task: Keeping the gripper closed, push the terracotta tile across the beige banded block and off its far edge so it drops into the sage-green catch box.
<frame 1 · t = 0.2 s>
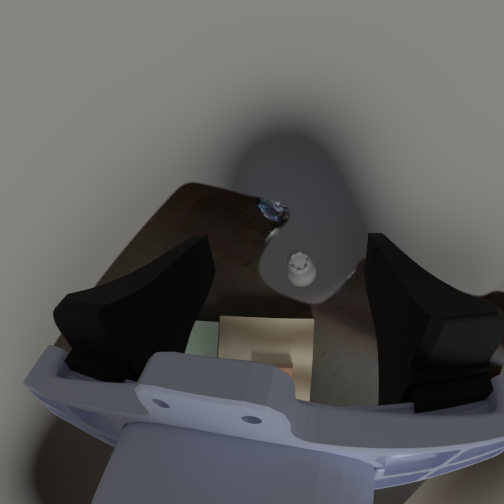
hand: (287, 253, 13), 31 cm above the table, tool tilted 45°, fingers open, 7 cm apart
catch box: (192, 368, 42), on the table
rook chess piece: (301, 272, 43), on the table
beige banded block: (267, 376, 40), on the table
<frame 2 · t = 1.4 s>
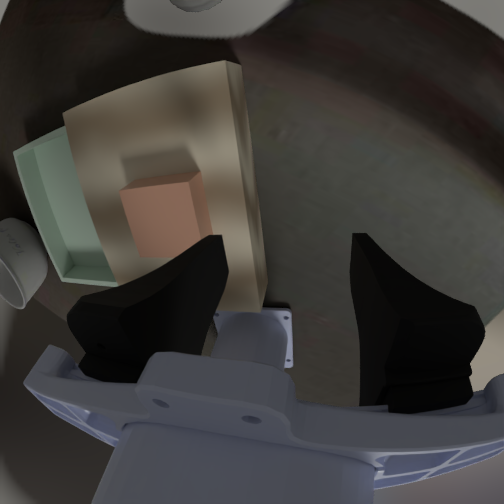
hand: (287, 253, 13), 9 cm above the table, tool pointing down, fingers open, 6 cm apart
tile: (173, 210, 19), point 4 cm above the table, touching beige banded block
catch box: (78, 203, 25), on the table
teacup: (27, 240, 30), on the table
beige banded block: (177, 190, 22), on the table
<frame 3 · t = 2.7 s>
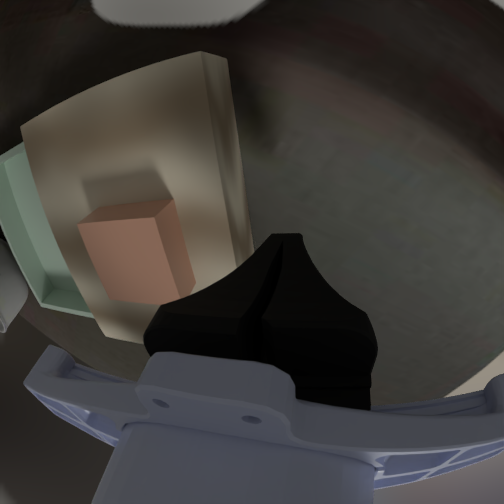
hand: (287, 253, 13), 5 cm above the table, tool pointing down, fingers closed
tile: (145, 244, 15), point 4 cm above the table, touching beige banded block
catch box: (51, 224, 21), on the table
teacup: (8, 258, 27), on the table
beige banded block: (155, 214, 19), on the table
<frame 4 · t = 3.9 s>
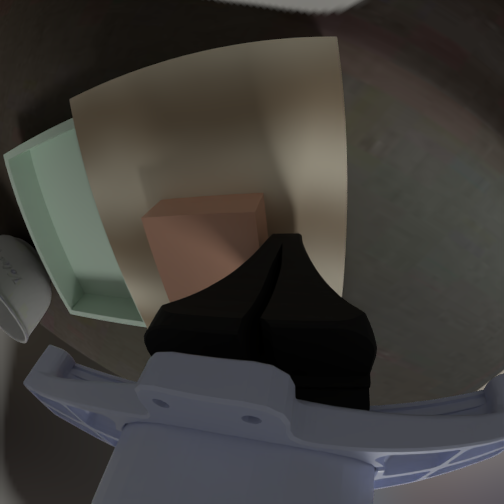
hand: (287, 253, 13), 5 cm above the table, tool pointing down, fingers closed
tile: (218, 243, 14), point 4 cm above the table, touching gripper, beige banded block
catch box: (89, 221, 20), on the table
teacup: (26, 259, 26), on the table
beige banded block: (230, 210, 17), on the table
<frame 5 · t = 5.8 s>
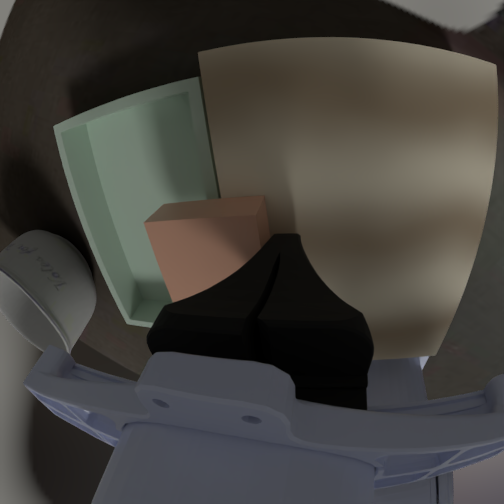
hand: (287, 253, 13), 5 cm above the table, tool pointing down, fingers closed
tile: (221, 246, 14), point 4 cm above the table, touching gripper, beige banded block
catch box: (166, 213, 18), on the table
teacup: (59, 259, 24), on the table
beige banded block: (355, 207, 16), on the table
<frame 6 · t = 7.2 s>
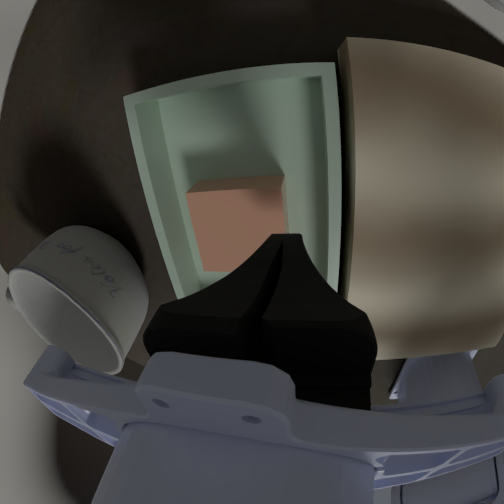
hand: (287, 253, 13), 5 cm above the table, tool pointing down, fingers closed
tile: (238, 233, 15), point 2 cm above the table, tilted 180°, touching catch box
catch box: (251, 209, 17), on the table
teacup: (97, 260, 23), on the table
beige banded block: (443, 209, 14), on the table
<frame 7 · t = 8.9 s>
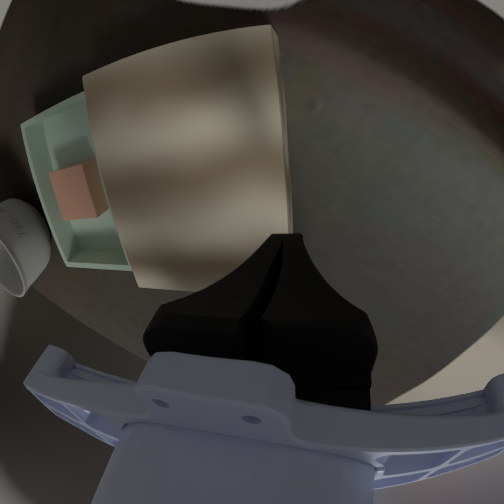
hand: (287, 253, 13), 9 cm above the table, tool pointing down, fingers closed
tile: (71, 194, 21), point 2 cm above the table, tilted 180°, touching catch box
catch box: (89, 180, 23), on the table
teacup: (29, 224, 29), on the table
beige banded block: (202, 164, 21), on the table
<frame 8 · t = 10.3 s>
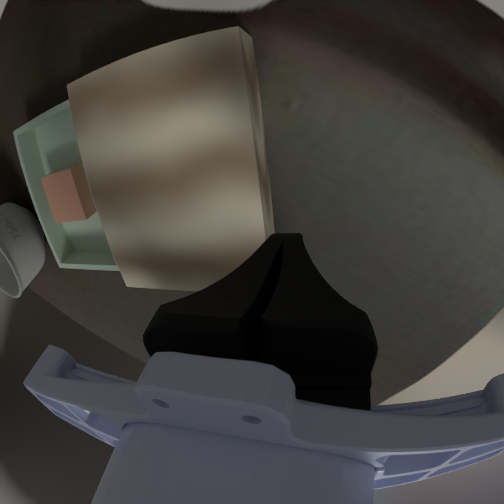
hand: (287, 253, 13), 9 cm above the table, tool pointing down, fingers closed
tile: (61, 198, 22), point 2 cm above the table, tilted 180°, touching catch box
catch box: (79, 184, 24), on the table
teacup: (25, 227, 29), on the table
beige banded block: (184, 166, 21), on the table
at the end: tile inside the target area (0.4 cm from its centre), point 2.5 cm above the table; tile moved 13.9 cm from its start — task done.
